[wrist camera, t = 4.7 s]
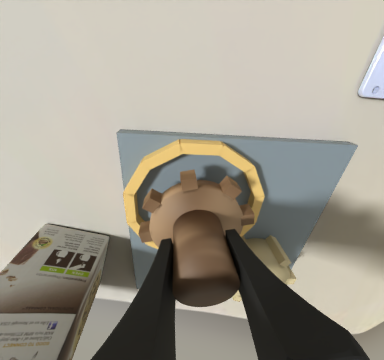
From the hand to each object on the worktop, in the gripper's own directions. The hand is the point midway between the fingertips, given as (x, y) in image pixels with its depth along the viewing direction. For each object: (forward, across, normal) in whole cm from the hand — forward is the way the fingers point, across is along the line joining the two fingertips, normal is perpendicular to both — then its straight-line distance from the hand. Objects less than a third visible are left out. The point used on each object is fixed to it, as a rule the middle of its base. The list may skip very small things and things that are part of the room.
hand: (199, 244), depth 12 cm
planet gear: (+3, 0, 0) cm, 3 cm away
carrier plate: (+6, -3, +4) cm, 8 cm away
